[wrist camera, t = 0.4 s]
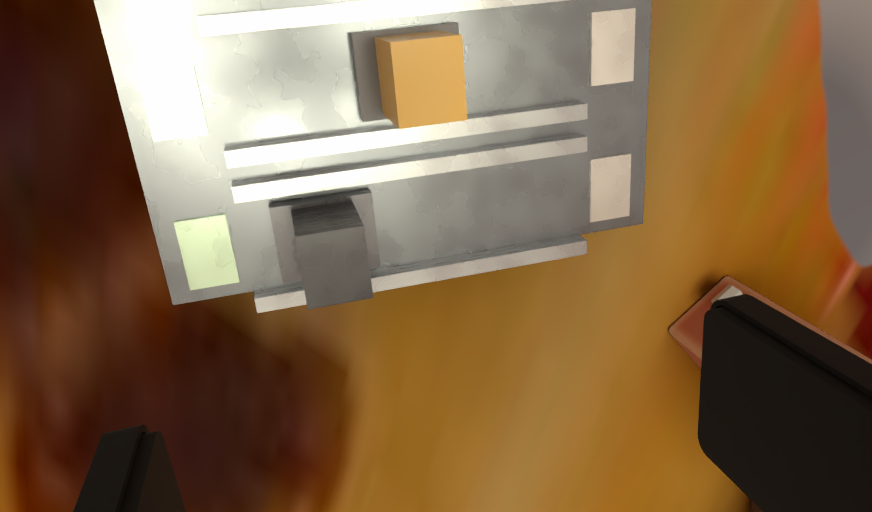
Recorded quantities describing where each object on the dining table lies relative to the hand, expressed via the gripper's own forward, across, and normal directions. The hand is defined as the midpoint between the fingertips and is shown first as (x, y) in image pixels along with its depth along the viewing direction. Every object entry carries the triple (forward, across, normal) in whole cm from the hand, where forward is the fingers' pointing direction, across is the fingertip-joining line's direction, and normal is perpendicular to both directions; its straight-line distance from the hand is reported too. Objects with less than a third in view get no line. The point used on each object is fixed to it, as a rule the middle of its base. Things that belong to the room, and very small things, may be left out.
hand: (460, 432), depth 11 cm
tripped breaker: (+23, -4, -4) cm, 24 cm away
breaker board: (+25, -4, -4) cm, 26 cm away
